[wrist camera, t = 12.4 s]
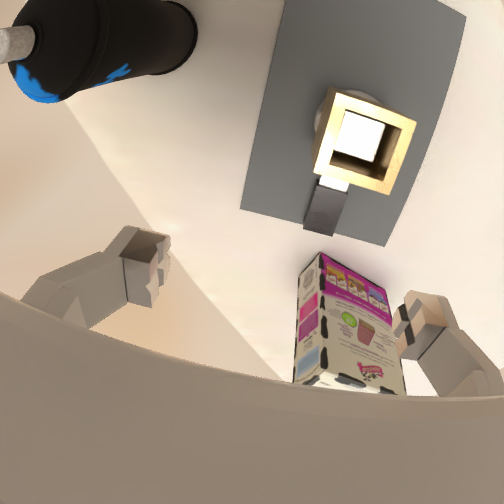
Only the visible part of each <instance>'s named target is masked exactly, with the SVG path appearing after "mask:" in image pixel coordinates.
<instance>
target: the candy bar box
mask: <svg viewBox="0 0 504 504" xmlns="http://www.w3.org/2000/svg"><path fill="white" fill-rule="evenodd" d="M396 341H397V339H396V336H395V335H394V333H393V330H392V315H391V311H390V307H389V303H388V299H387V295H386V291H385V290H384V289H382V288H381V287H379V286H377V285H375V284H374V283H372V282H370V281H369V280H367V279H365V278H363V277H362V276H360V275H358V274H356V273H355V272H353V271H351V270H350V269H348V268H346V267H345V266H343V265H341V264H340V263H338V262H336V261H334V260H333V259H331V258H329V257H327V256H326V255H324V254H322V253H319V254H318V255H317V256H316V257H315V259H314V260H313V261H312V262H311V263H310V265H309V266H308V267H307V268H306V269H305V270H304V271H303V272H302V273H301V274H300V276H299V277H298V299H297V318H296V337H295V355H294V368H293V382H292V383H296V384H302V385H309V386H316V387H323V388H330V389H338V390H347V391H356V392H366V393H378V394H391V395H407V394H406V387H405V382H404V375H403V370H402V364H401V358H398V354H397V349H396V345H395V342H396Z"/></svg>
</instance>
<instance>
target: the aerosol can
mask: <svg viewBox="0 0 504 504" xmlns="http://www.w3.org/2000/svg"><path fill="white" fill-rule="evenodd" d="M197 34H198V32H197V25H196V22H195V19H194V17H193V15H192V14H191V12H190V11H189V10H188V9H187V8H186V7H184V6H182V5H181V4H179V3H176V2H173V1H162V0H28V1H27V3H26V4H25V5H24V7H23V8H22V10H21V11H20V12H19V14H18V15H17V17H16V19H15V20H14V23H13V25H12V27H8V28H1V29H0V64H4V63H7V62H8V66H9V69H10V71H11V74H12V75H13V78H14V79H15V81H16V83H17V84H18V86H19V88H20V89H21V90H22V91H23V93H24V94H26V95H27V96H28V97H29V98H31V99H33V100H35V101H37V102H42V103H55V102H59V101H62V100H65V99H67V98H69V97H70V96H72V95H73V94H75V93H76V92H78V91H81V90H85V89H88V88H92V87H96V86H99V85H103V84H107V83H111V82H115V81H120V80H124V79H129V78H133V77H138V76H143V75H162V74H167V73H169V72H171V71H174V70H175V69H177V68H178V67H180V66H181V65H182V64H183V63H184V62H186V61H187V59H188V58H189V57H190V55H191V54H192V52H193V50H194V48H195V45H196V42H197Z"/></svg>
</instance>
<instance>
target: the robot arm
mask: <svg viewBox="0 0 504 504" xmlns="http://www.w3.org/2000/svg"><path fill="white" fill-rule="evenodd" d="M170 246H171V245H170V236H169V235H167V234H163V233H159V232H155V231H151V230H146V229H141V228H138V227H134V226H129V225H127V226H125V227H124V228H123V229H122V230H121V231H120V232H119V234H118V235H117V236H116V237H115V238H114V240H113V241H112V242H111V243H110V245H109V246H108V247H107V248H106V249H105V251H104V252H97V253H94V254H92V255H90V256H87V257H85V258H82V259H80V260H78V261H75V262H73V263H70V264H68V265H66V266H63V267H61V268H59V269H56V270H54V271H52V272H49V273H47V274H45V275H43V276H40V277H39V278H38V279H37V281H36V282H35V283H34V284H33V285H32V287H31V288H30V289H29V290H28V292H27V293H26V294H25V295H24V297H23V298H22V299H21V300H20V301H19V300H16V299H14V298H12V297H10V296H8V295H6V294H4V293H2V292H0V504H504V382H503V379H502V376H501V373H500V371H499V369H498V368H497V367H496V366H495V365H494V364H493V362H492V361H491V360H490V359H489V358H488V357H487V356H486V355H485V353H484V352H483V351H482V350H481V349H480V348H479V347H478V346H477V345H476V344H475V343H474V341H473V340H472V339H471V338H470V337H469V336H468V335H467V334H466V333H465V332H464V331H463V330H460V329H459V326H458V324H457V321H456V319H455V316H454V314H453V311H452V309H451V306H450V304H449V302H448V299H447V298H446V297H445V296H439V295H432V294H427V293H422V292H418V291H413V290H410V291H409V292H408V293H407V294H406V296H405V297H404V302H405V303H404V304H403V305H401V306H399V307H398V308H397V310H396V312H395V313H394V316H393V320H392V330H393V333H394V335H395V336H396V337H397V338H398V339H397V341H396V342H395V345H396V349H397V354H398V358H402V359H409V360H416V361H417V362H418V364H419V365H420V367H421V368H422V370H423V372H424V373H425V375H426V376H427V378H428V379H429V381H430V383H431V384H432V386H433V387H434V389H435V390H436V392H437V394H438V395H439V397H433V396H407V395H391V394H378V393H366V392H356V391H347V390H338V389H330V388H323V387H316V386H309V385H302V384H296V383H290V382H284V381H278V380H272V379H267V378H262V377H257V376H252V375H247V374H242V373H238V372H232V371H228V370H224V369H220V368H216V367H211V366H207V365H203V364H199V363H195V362H191V361H187V360H184V359H180V358H176V357H173V356H169V355H166V354H162V353H159V352H155V351H152V350H149V349H145V348H142V347H139V346H136V345H133V344H130V343H126V342H123V341H120V340H117V339H114V338H112V337H108V336H106V335H103V334H100V333H97V332H94V331H92V330H89V329H90V328H91V327H93V326H94V325H96V324H97V323H99V322H100V321H102V320H103V319H105V318H106V317H108V316H109V315H111V314H112V313H114V312H115V311H116V310H118V309H120V308H121V307H122V306H124V305H126V304H127V302H130V303H134V304H137V305H141V306H145V307H150V308H152V307H153V305H154V302H155V301H156V299H157V297H158V295H159V287H160V286H162V285H164V282H165V281H166V279H167V275H168V272H169V267H170V256H169V255H168V253H167V252H168V250H169V248H170Z"/></svg>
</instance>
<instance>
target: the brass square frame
mask: <svg viewBox="0 0 504 504" xmlns="http://www.w3.org/2000/svg"><path fill="white" fill-rule="evenodd" d="M345 109H349V110H352V111H355V112H358V113H361V114H364V115H366V116H369V117H372V118H375V119H378V120H380V121H381V122H383V123H384V124H385V128H384V131H383V134H382V137H381V140H380V143H379V146H378V148H377V151H376V154H375V157H374V160H373V162H370V161H367V160H364V159H361V158H358V157H355V156H352V155H349V154H346V153H342V152H339V151H336V150H334V146H335V142H336V139H337V136H338V133H339V129H340V126H341V123H342V119H343V116H344V113H345ZM416 124H417V122H416V121H414V120H413V119H411V118H409V117H408V116H406V115H404V114H403V113H401V112H399V111H398V110H396V109H394V108H392V107H389V106H386V105H384V104H381V103H378V102H376V101H373V100H370V99H367V98H364V97H362V96H359V95H356V94H353V93H350V92H346V91H343V90H340V89H337V88H334V87H330V86H329V87H328V91H327V94H326V98H325V102H324V105H323V109H322V112H321V116H320V120H319V123H318V127H317V130H316V134H315V137H314V141H313V144H312V148H311V154H312V164H313V172H314V173H317V174H321V175H324V176H328V177H331V178H335V179H338V180H342V181H345V182H348V183H352V184H355V185H358V186H361V187H365V188H368V189H371V190H374V191H377V192H380V193H383V194H386V195H389V194H390V192H391V190H392V187H393V185H394V182H395V180H396V177H397V175H398V172H399V170H400V167H401V165H402V162H403V159H404V157H405V154H406V151H407V149H408V146H409V143H410V141H411V138H412V135H413V132H414V129H415V126H416Z"/></svg>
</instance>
